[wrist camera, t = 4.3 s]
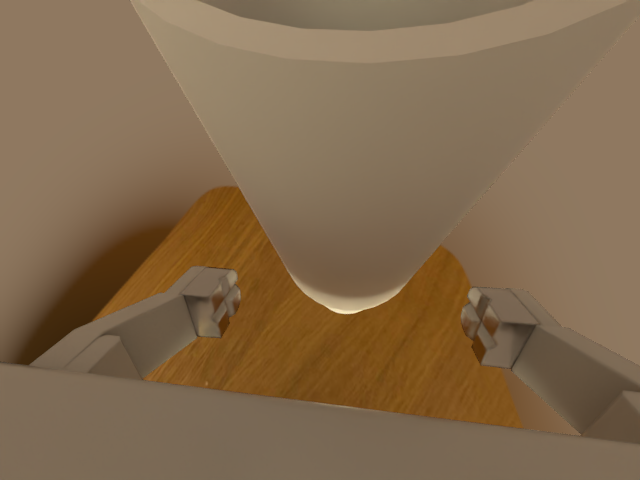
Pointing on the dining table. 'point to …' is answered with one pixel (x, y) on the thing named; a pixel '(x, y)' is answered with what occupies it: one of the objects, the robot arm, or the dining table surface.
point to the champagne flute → (374, 115)
